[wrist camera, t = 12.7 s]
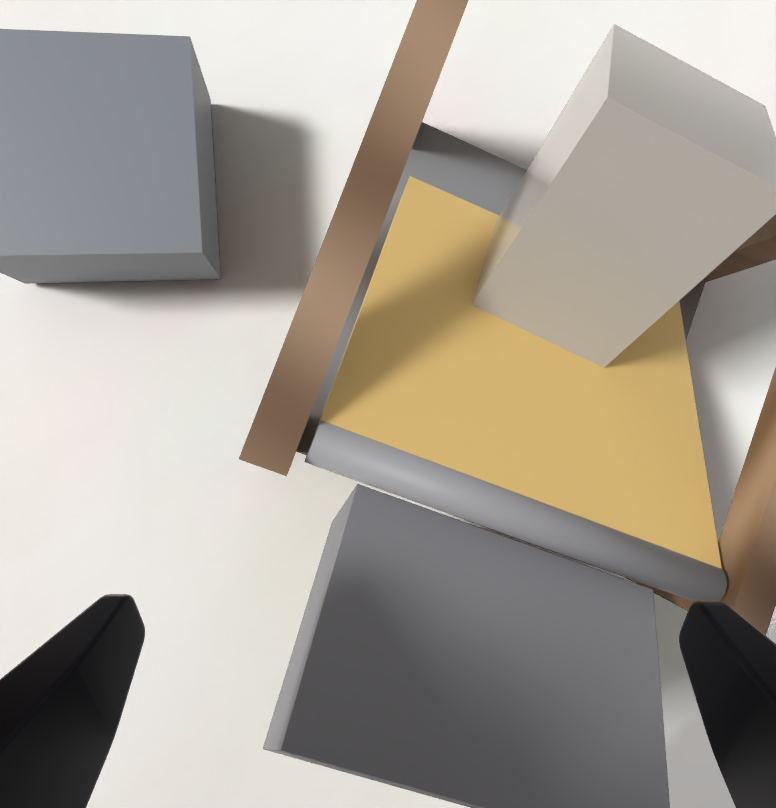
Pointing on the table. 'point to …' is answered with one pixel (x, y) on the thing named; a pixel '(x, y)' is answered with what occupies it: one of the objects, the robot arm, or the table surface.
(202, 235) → the plinth
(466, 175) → the frame
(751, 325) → the table surface
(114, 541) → the table surface
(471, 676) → the trapdoor
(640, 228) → the grey upright block
